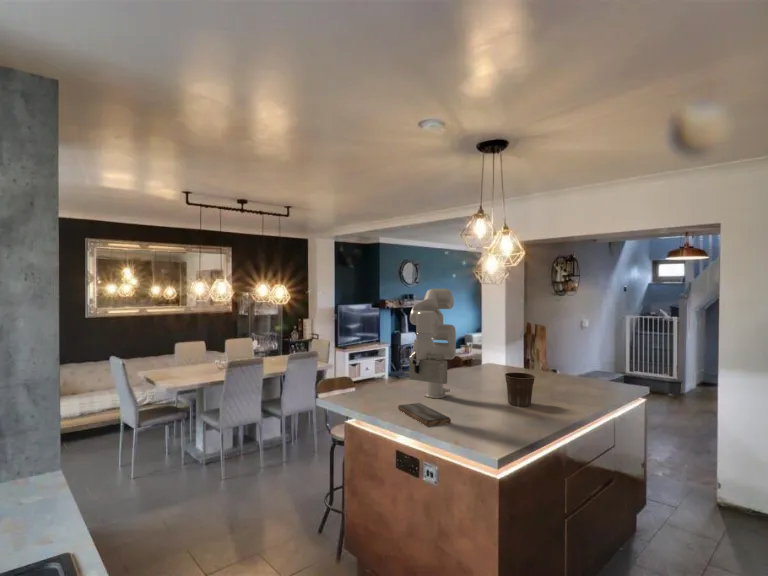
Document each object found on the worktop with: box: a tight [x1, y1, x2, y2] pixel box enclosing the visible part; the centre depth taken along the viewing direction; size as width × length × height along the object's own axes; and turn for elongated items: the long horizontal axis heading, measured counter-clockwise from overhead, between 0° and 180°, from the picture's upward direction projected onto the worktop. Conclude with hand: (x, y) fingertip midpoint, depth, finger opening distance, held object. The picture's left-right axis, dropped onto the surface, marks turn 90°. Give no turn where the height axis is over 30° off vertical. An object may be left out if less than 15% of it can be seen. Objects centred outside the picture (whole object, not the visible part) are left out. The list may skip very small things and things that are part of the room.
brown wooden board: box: [397, 402, 452, 427], centre depth 218 cm, size 13×30×2 cm, turn 24°
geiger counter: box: [400, 350, 448, 385], centre depth 218 cm, size 14×6×25 cm
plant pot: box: [504, 372, 536, 408], centre depth 243 cm, size 16×16×16 cm
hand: (423, 372), depth 218 cm, fingers closed on geiger counter, 6 cm apart
